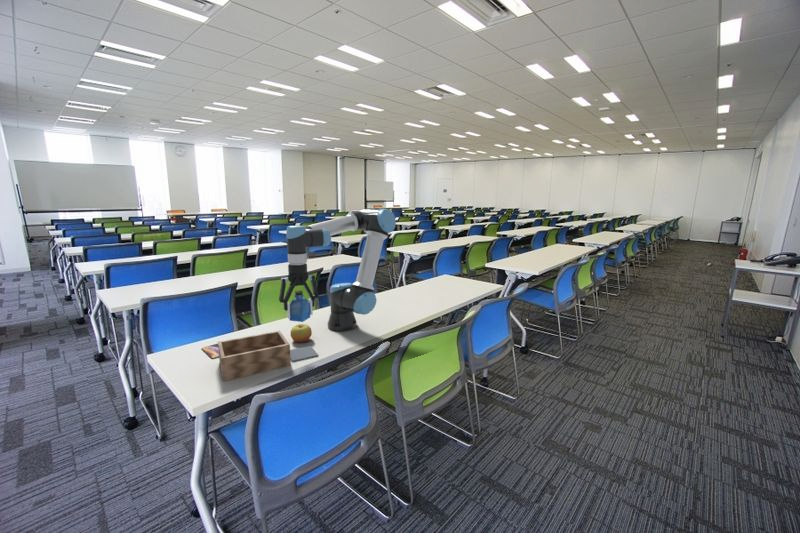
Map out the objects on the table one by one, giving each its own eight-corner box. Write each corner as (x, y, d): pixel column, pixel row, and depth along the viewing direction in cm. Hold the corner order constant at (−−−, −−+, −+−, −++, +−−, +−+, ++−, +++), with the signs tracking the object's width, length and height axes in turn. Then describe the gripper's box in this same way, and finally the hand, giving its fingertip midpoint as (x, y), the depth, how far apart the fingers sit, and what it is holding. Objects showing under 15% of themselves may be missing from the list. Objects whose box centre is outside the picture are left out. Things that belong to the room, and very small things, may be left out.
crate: (281, 349, 153) (279, 330, 151) (290, 365, 138) (289, 344, 136) (219, 362, 140) (217, 341, 138) (223, 381, 126) (221, 358, 124)
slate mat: (310, 346, 156) (310, 345, 156) (318, 356, 147) (318, 354, 147) (285, 352, 150) (285, 350, 150) (292, 362, 141) (292, 360, 141)
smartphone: (211, 358, 143) (200, 348, 153) (211, 360, 143) (200, 349, 153) (230, 353, 148) (218, 342, 158) (230, 354, 148) (218, 344, 158)
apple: (286, 340, 163) (285, 324, 161) (304, 334, 170) (304, 319, 168) (297, 346, 156) (297, 329, 155) (316, 340, 163) (315, 324, 162)
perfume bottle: (310, 317, 148) (309, 290, 145) (302, 322, 142) (301, 294, 139) (297, 315, 149) (296, 289, 147) (289, 320, 143) (288, 292, 141)
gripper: (319, 260, 150) (321, 309, 154) (268, 264, 139) (271, 317, 143) (325, 262, 143) (327, 314, 148) (272, 267, 132) (275, 322, 137)
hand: (299, 315), depth 145 cm, fingers closed on perfume bottle, 9 cm apart
